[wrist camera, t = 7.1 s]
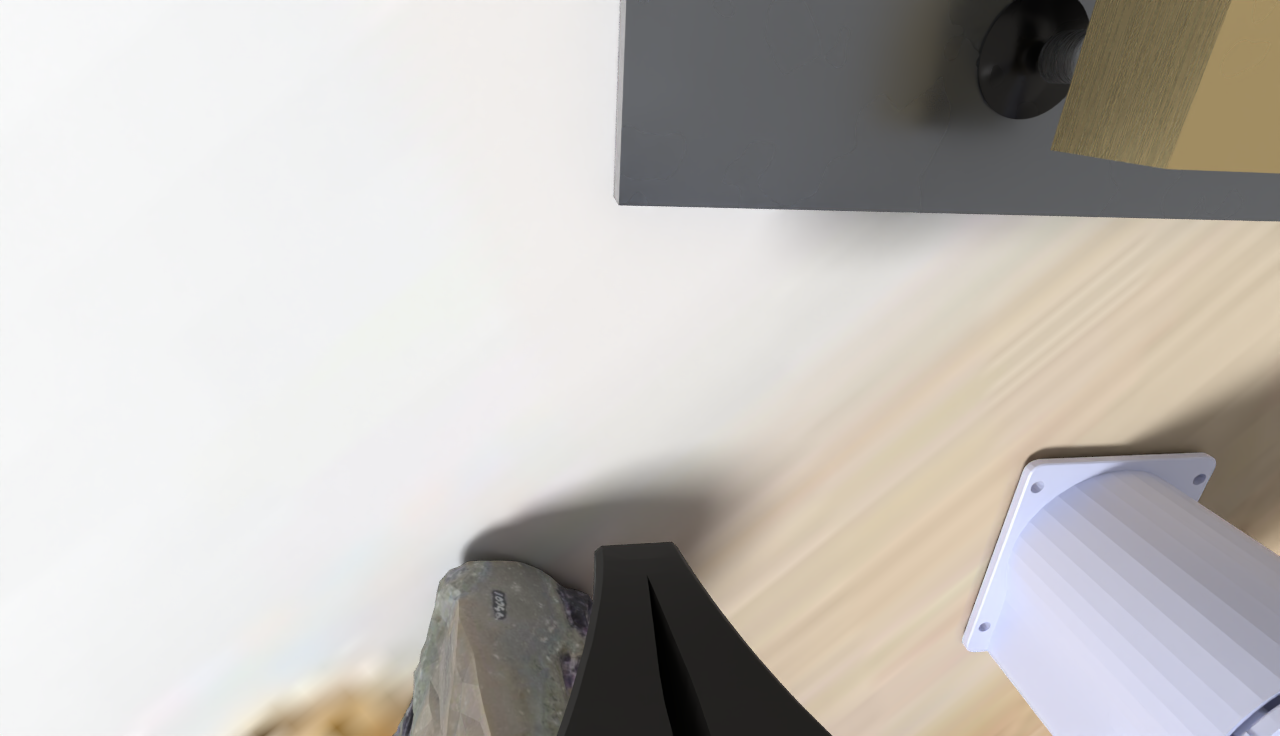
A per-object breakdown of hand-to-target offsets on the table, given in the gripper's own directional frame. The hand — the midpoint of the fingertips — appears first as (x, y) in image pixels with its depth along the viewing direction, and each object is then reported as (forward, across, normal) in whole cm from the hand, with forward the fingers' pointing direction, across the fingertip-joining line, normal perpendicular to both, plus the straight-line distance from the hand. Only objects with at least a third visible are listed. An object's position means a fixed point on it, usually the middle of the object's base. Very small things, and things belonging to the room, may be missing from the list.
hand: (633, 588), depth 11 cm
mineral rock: (+10, +5, +14) cm, 17 cm away
